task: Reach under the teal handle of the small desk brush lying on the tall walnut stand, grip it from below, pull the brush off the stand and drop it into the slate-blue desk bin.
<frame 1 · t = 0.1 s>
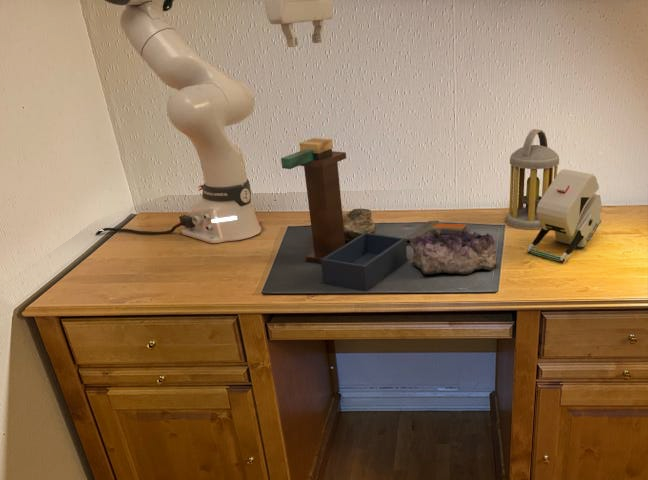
hand: (305, 44, 147), 48 cm above the table, tool pointing down, fingers open, 8 cm apart
geode: (454, 268, 157), on the table
stone: (356, 239, 177), on the table
brush: (312, 158, 151), point 25 cm above the table, touching stand
robotic device: (566, 248, 167), on the table
lantern: (531, 221, 186), on the table
desk bin: (366, 271, 157), on the table
handgun: (437, 237, 176), on the table
stand: (330, 256, 166), on the table
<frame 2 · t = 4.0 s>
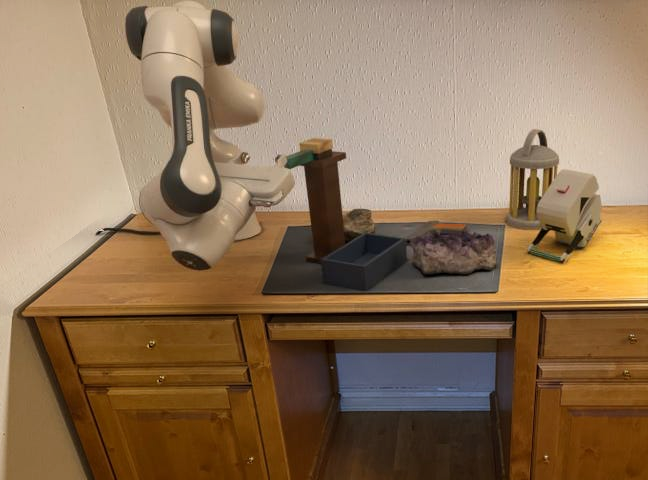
hand: (264, 155, 135), 29 cm above the table, tool pointing upward, fingers open, 8 cm apart
nothing on the table moved.
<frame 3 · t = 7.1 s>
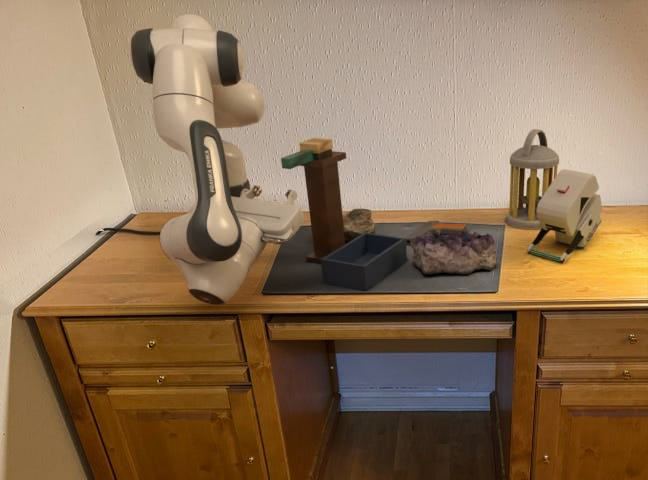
hand: (275, 189, 141), 22 cm above the table, tool pointing upward, fingers open, 8 cm apart
nothing on the table moved.
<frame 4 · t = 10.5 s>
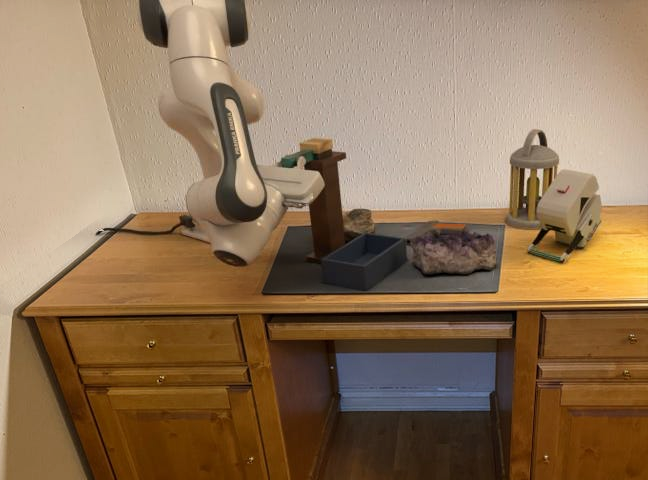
hand: (295, 157, 145), 27 cm above the table, tool pointing upward, fingers closed on brush, 2 cm apart
brush: (312, 158, 151), point 25 cm above the table, touching gripper, stand
everything else where it was.
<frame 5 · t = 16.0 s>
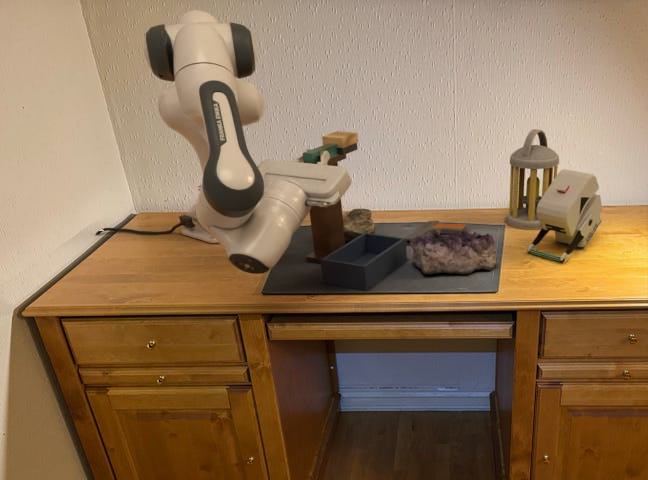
hand: (318, 152, 132), 31 cm above the table, tool pointing upward, fingers closed on brush, 2 cm apart
brush: (336, 153, 137), point 29 cm above the table, touching gripper
everything else where it was.
when the fingers open (16 cm above the table, at t = 21.7 s): brush drops 13 cm, resting on desk bin.
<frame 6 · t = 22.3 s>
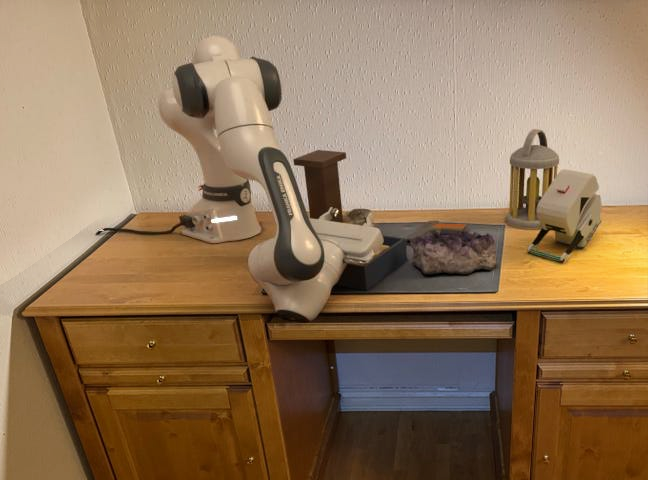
hand: (352, 211, 146), 16 cm above the table, tool pointing upward, fingers open, 8 cm apart
brush: (370, 265, 158), point 1 cm above the table, touching desk bin
everything else where it was.
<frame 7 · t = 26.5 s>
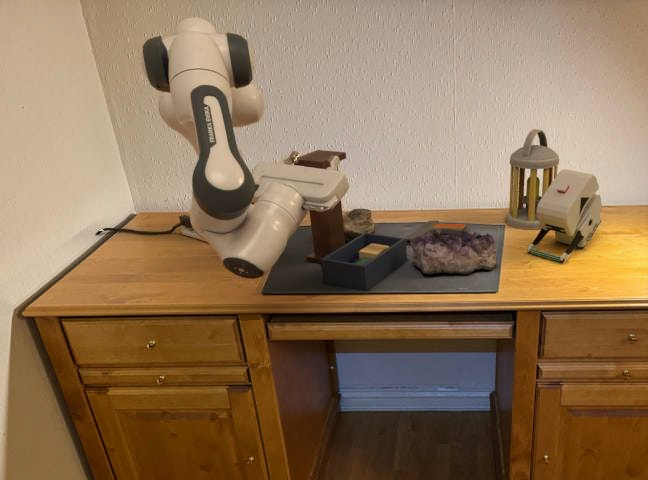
hand: (315, 155, 130), 30 cm above the table, tool pointing upward, fingers open, 8 cm apart
nothing on the table moved.
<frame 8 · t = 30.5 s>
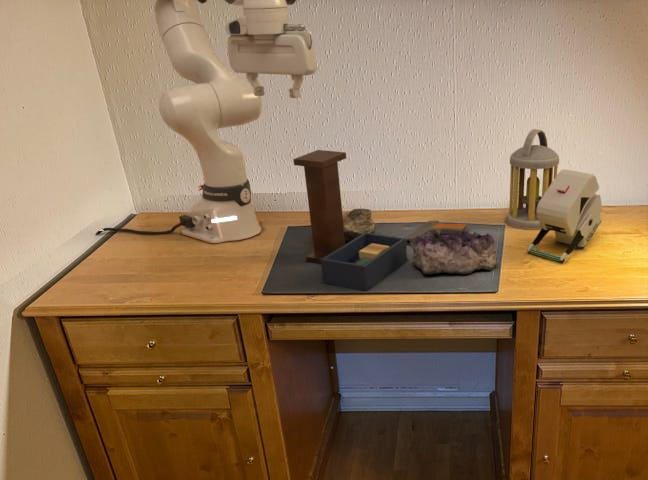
hand: (277, 96, 140), 39 cm above the table, tool pointing down, fingers open, 8 cm apart
nothing on the table moved.
at the end: brush inside the target area in the desk bin (2.2 cm from its centre), point 0.8 cm above the desk bin's base; the gripper is holding nothing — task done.
